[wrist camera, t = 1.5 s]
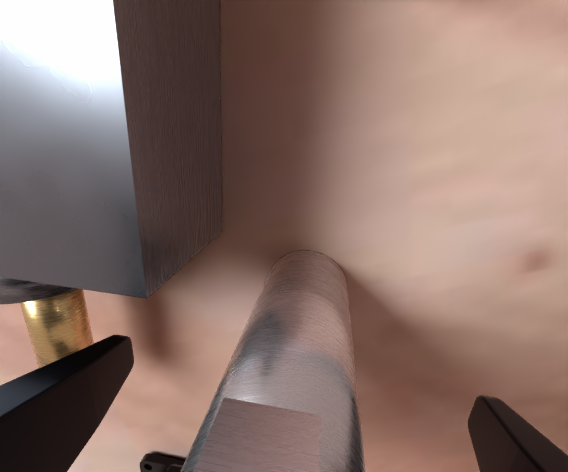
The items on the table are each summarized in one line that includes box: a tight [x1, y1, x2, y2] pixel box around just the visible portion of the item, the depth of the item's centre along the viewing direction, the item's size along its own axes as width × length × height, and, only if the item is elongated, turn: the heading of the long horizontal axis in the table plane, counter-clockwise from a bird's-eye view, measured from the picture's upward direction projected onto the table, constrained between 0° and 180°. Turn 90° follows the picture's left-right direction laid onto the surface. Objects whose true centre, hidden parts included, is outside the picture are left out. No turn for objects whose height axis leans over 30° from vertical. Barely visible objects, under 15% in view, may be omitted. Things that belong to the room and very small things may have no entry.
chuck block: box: [0, 0, 222, 368], centre depth 8 cm, size 20×11×5 cm, turn 176°
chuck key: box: [181, 251, 365, 472], centre depth 7 cm, size 6×3×9 cm, turn 176°
